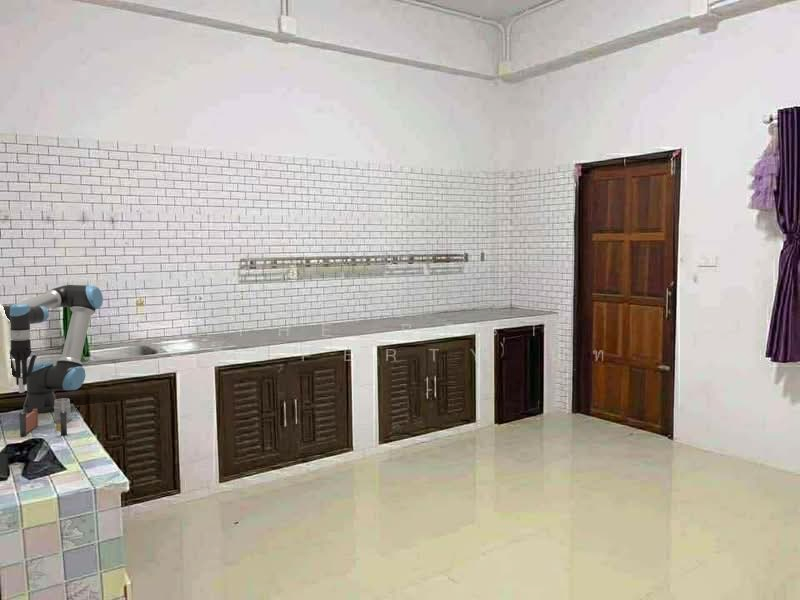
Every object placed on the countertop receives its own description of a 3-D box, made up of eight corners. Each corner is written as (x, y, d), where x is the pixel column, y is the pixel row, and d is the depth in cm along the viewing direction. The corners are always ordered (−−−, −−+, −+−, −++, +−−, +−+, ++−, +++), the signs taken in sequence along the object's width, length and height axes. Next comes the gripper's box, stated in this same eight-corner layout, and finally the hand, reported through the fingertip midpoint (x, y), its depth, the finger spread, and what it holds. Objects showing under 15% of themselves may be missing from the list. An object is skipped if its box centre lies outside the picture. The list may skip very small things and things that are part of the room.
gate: (26, 433, 282) (26, 416, 282) (22, 434, 282) (22, 416, 281) (37, 425, 295) (37, 408, 295) (34, 425, 295) (33, 408, 294)
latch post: (58, 434, 285) (58, 410, 284) (68, 433, 285) (67, 410, 284) (56, 436, 281) (55, 412, 280) (65, 436, 282) (65, 412, 281)
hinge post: (21, 435, 282) (20, 411, 281) (28, 435, 282) (27, 411, 281) (18, 437, 279) (17, 412, 278) (25, 436, 280) (24, 412, 279)
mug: (71, 417, 310) (70, 392, 309) (72, 424, 300) (72, 398, 299) (53, 419, 306) (52, 394, 305) (53, 426, 296) (53, 400, 295)
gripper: (0, 340, 283) (2, 394, 285) (33, 340, 285) (35, 393, 287) (7, 338, 290) (8, 390, 292) (39, 337, 293) (40, 389, 295)
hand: (21, 392), depth 290 cm, fingers closed
